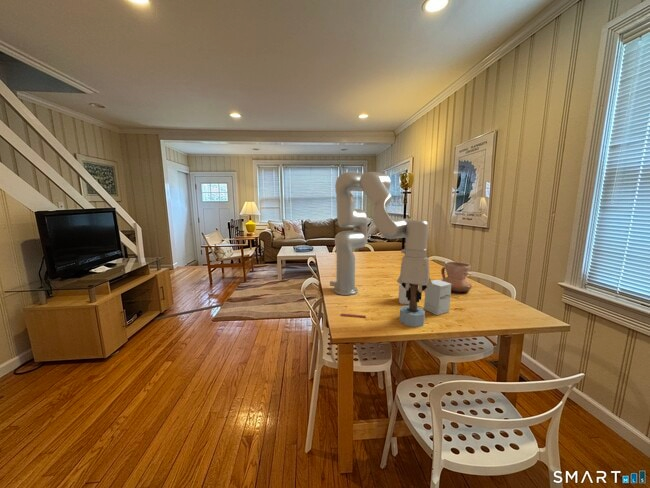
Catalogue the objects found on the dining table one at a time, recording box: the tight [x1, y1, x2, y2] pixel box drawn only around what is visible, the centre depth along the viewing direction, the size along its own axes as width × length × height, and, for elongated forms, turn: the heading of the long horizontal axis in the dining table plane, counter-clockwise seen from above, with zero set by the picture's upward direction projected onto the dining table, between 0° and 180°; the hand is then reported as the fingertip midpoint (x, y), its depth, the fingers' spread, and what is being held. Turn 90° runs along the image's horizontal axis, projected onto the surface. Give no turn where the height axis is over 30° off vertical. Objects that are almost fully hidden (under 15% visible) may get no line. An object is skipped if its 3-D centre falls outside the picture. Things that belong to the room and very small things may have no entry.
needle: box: [408, 284, 419, 312], centre depth 97 cm, size 3×3×13 cm
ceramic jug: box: [441, 261, 473, 293], centre depth 134 cm, size 18×14×14 cm
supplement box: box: [423, 279, 452, 316], centre depth 108 cm, size 7×7×13 cm
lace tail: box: [340, 313, 367, 318], centre depth 103 cm, size 10×1×1 cm, turn 78°
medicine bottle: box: [398, 283, 410, 305], centre depth 118 cm, size 7×7×12 cm
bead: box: [399, 304, 426, 328], centre depth 98 cm, size 9×9×5 cm
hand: (413, 299), depth 97 cm, fingers closed on needle, 2 cm apart
